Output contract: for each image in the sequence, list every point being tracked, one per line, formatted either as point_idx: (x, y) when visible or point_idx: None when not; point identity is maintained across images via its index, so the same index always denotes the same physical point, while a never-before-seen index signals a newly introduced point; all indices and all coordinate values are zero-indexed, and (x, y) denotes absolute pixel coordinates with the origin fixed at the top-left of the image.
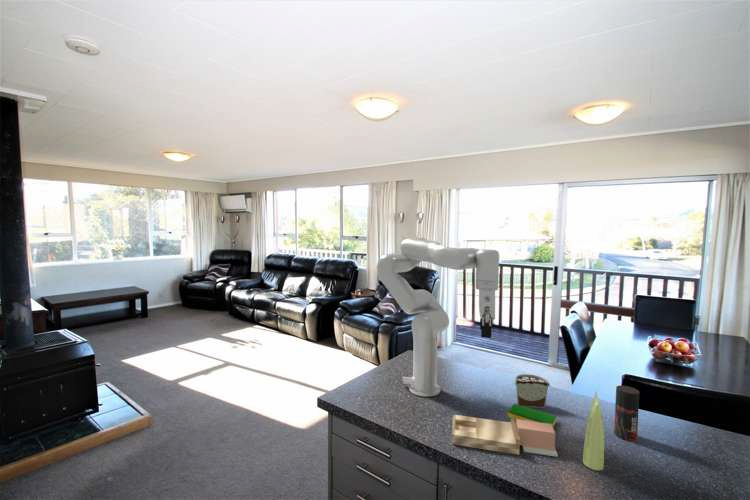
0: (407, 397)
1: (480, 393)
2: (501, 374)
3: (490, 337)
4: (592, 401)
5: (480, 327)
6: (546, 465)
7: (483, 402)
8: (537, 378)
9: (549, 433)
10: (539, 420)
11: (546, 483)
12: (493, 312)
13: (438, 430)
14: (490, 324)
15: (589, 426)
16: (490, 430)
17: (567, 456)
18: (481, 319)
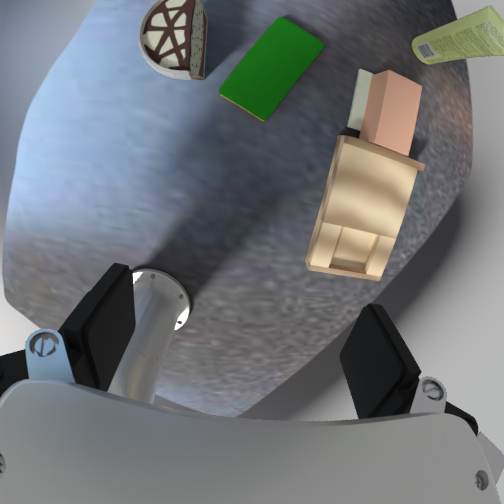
0: (199, 333)
1: (140, 167)
2: (34, 104)
3: (378, 307)
4: (487, 24)
5: (127, 337)
6: (431, 127)
7: (192, 167)
8: (158, 7)
9: (419, 96)
10: (309, 61)
11: (460, 153)
12: (486, 487)
13: (329, 289)
14: (443, 395)
15: (478, 55)
16: (375, 203)
17: (407, 74)
18: (105, 391)
